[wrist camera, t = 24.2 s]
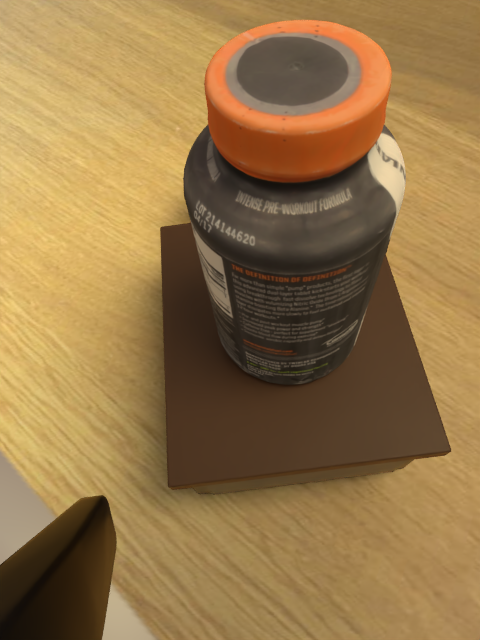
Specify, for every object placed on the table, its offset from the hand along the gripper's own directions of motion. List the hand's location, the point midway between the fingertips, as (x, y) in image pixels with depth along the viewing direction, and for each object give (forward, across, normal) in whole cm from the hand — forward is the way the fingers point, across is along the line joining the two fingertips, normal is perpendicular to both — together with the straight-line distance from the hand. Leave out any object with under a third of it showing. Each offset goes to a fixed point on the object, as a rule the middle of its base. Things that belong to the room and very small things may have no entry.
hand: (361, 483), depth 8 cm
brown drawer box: (+15, 0, +4) cm, 16 cm away
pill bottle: (+12, 0, +1) cm, 12 cm away
